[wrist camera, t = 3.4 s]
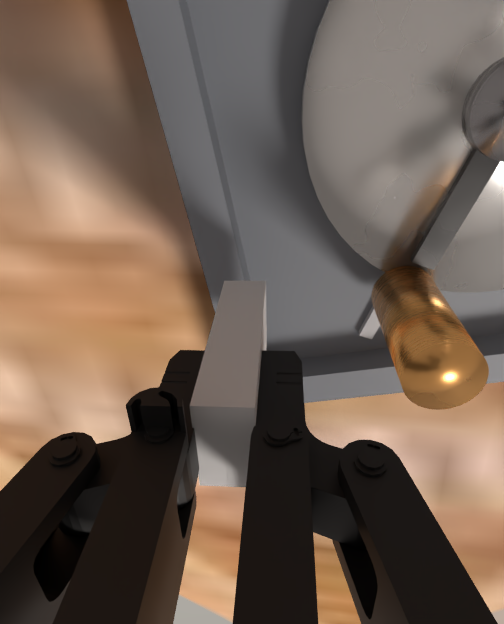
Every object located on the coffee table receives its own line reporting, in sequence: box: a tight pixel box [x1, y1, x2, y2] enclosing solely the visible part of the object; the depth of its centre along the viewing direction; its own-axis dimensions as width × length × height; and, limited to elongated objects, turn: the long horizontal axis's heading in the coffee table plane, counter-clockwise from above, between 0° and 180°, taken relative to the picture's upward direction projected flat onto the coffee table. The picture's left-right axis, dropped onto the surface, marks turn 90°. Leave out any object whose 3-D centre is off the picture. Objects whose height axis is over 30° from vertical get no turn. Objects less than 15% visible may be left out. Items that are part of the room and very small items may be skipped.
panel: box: [127, 0, 504, 403], centre depth 15 cm, size 22×22×3 cm
